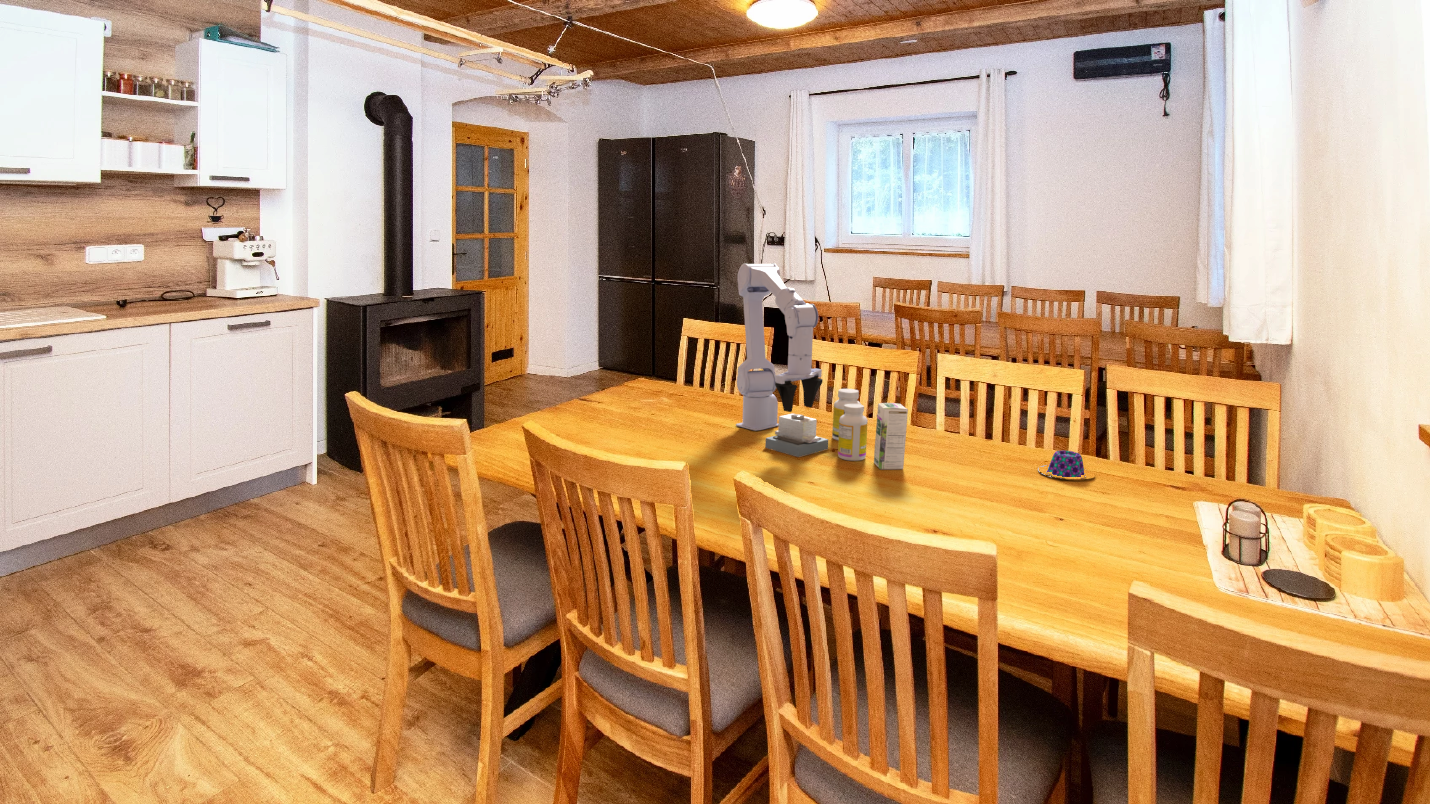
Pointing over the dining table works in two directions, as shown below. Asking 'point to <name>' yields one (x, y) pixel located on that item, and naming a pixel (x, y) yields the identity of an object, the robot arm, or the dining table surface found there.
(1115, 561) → the dining table surface
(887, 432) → the syrup box
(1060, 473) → the polka-dot brimmed hat
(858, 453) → the supplement bottle
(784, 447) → the stand
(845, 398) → the supplement bottle
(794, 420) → the housing
